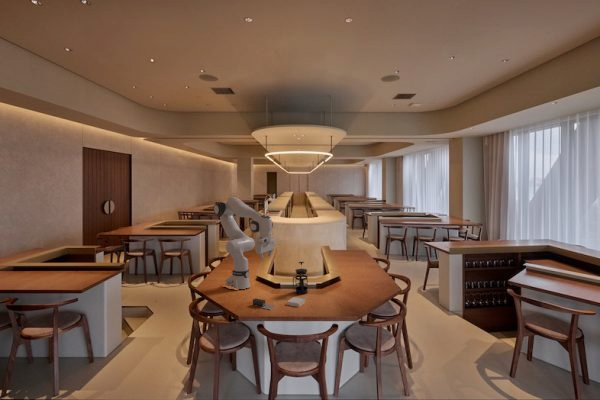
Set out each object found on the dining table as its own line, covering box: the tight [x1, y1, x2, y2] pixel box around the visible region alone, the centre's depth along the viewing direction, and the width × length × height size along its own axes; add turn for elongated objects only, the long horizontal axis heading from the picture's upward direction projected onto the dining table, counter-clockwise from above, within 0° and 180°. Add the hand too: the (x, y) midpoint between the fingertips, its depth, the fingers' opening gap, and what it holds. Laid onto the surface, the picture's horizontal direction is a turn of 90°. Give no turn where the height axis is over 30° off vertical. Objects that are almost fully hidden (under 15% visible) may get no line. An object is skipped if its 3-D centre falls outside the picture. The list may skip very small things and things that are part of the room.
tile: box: [286, 296, 306, 308], centre depth 210 cm, size 3×9×9 cm
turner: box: [252, 298, 276, 311], centre depth 205 cm, size 15×6×4 cm, turn 64°
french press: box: [292, 261, 309, 295], centre depth 232 cm, size 12×9×23 cm
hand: (265, 257), depth 222 cm, fingers open, 8 cm apart
